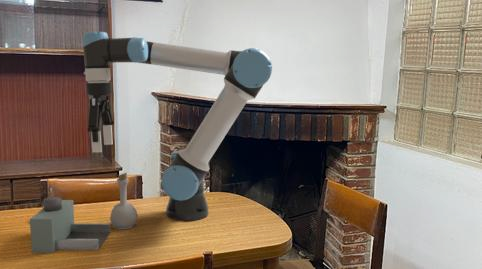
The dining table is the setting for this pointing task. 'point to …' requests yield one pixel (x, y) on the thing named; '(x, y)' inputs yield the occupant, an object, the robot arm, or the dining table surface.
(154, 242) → the dining table surface
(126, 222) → the potion bottle
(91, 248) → the side bay
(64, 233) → the housing
